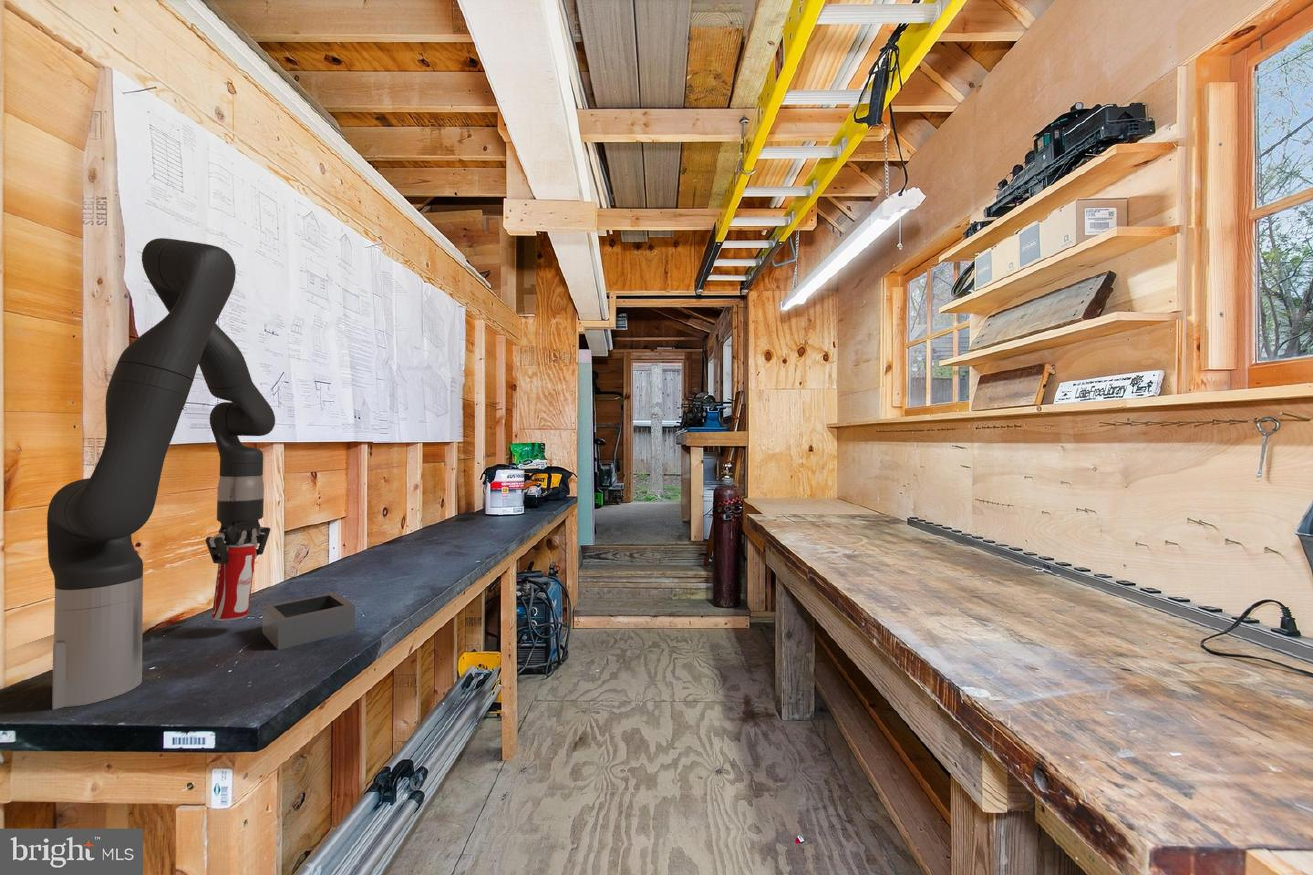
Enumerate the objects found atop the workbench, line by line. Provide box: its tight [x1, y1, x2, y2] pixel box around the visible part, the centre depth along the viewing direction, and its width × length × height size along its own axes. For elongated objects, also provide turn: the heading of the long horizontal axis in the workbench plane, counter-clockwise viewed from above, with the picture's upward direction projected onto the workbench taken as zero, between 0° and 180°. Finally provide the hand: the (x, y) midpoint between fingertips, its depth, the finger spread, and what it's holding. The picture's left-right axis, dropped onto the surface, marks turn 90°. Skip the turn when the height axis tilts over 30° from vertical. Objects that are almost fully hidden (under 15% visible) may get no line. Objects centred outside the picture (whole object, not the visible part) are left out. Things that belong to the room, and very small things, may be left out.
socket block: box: [261, 591, 356, 651], centre depth 104 cm, size 13×13×6 cm
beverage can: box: [211, 543, 257, 622], centre depth 103 cm, size 6×6×15 cm
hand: (238, 579), depth 105 cm, fingers closed on beverage can, 3 cm apart
